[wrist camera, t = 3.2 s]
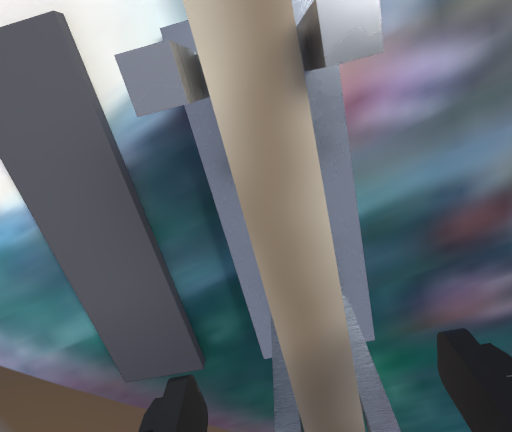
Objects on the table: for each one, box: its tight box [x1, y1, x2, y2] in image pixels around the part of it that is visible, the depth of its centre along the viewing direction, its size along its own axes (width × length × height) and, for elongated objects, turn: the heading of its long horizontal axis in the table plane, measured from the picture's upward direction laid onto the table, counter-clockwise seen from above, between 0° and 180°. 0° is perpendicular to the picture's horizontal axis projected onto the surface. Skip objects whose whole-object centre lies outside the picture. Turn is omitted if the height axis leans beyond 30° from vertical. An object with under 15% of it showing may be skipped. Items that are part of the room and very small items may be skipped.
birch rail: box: [183, 0, 365, 432], centre depth 15 cm, size 3×26×3 cm, turn 14°
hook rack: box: [114, 0, 401, 432], centre depth 18 cm, size 10×27×14 cm, turn 14°
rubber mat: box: [0, 11, 205, 382], centre depth 26 cm, size 8×30×1 cm, turn 14°
